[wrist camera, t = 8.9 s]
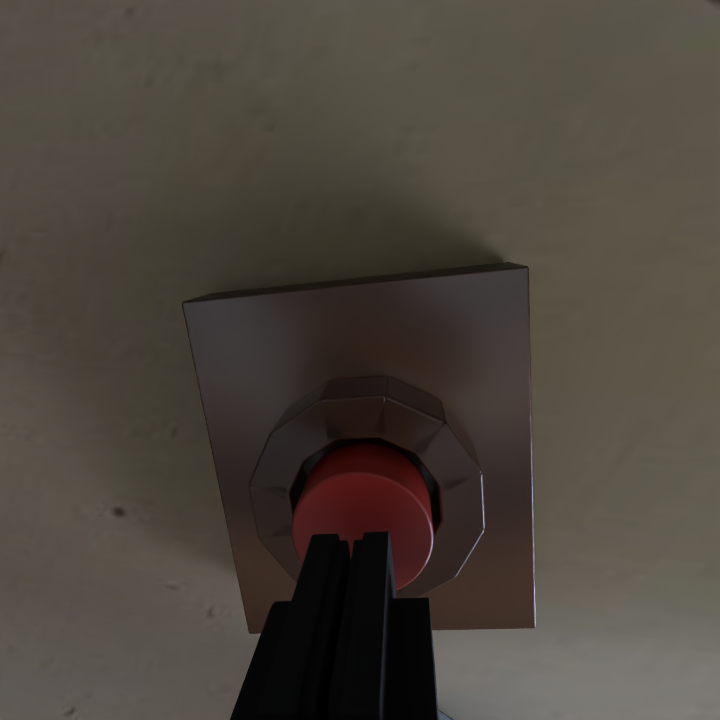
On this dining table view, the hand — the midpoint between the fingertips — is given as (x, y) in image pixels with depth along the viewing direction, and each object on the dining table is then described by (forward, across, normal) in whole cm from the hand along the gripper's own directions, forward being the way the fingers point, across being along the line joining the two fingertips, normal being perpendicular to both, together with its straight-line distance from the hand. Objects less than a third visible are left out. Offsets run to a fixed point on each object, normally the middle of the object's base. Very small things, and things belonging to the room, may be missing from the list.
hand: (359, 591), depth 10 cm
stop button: (+3, 0, 0) cm, 3 cm away
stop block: (+7, 0, 0) cm, 7 cm away
